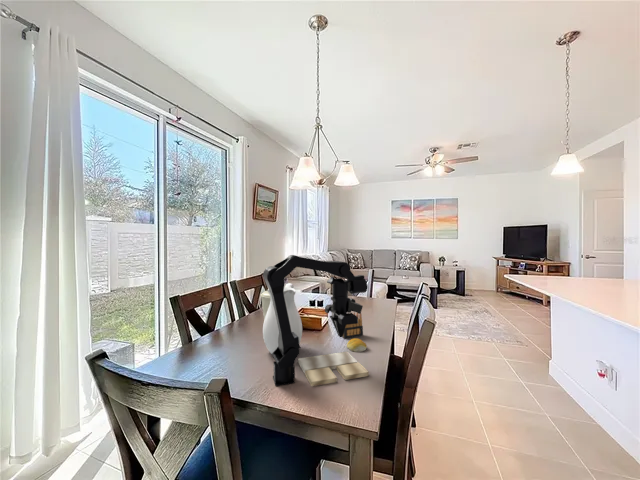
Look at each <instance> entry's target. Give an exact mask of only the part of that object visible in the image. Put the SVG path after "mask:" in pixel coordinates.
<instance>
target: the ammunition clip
mask: <svg viewBox="0 0 640 480" xmlns="http://www.w3.org/2000/svg"><path fill="white" fill-rule="evenodd" d="M353 314H354V315H356V316H357V317H358V323H357V324H349V325H346V327H345V330H344V334H343V337H341V338H342V339H343V340H346V339H354V338H358V337H362V336H364V329H363V328H364V326H363V319H362V318H363V317H362V313H361V314H358V313H357V312H354V311H353Z"/></svg>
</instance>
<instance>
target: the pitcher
mask: <svg viewBox="0 0 640 480" xmlns="http://www.w3.org/2000/svg"><path fill="white" fill-rule="evenodd" d="M266 291H268V293H269V294H270V305H269V308H268V311H267V314H266V316H265V319H264V318H263V320H264V321H263V325H262V337H263V341H264V345H265V347H266V349H267V350H268V352H269V354H271V355H272V353H273V352H274V351H275V350H276V349H277V347H278V337H279V329H278V325H277V320H276V315H275V310H274V306H273V301H272V296H271V293H270V291H269V289H267V290H266ZM295 295H296V289H295V287H294V284H293V283H286V285H284V298H285V303H286V308H287V313H288V317H289V322H290V327H291V332H294V333H295V334H296V335H297V336H298V337H299V345H300V343H301V341H302V336H303V324H302V323H303V322H302V318H301V315H300V313H299V310H298V308H297V305H296V302H295Z"/></svg>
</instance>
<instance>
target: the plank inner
mask: <svg viewBox="0 0 640 480" xmlns="http://www.w3.org/2000/svg"><path fill="white" fill-rule="evenodd" d="M304 375H305V378H306V379H307V381H308V383H309V385H310V387H316V386H323V385H327V384H333V383H338V378H337V376H336V375H335V373H334V372H333V370H331V369H330V368H329V367H327V368H321V369H315V370H308V371H305V374H304Z"/></svg>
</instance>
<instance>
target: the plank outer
mask: <svg viewBox="0 0 640 480" xmlns="http://www.w3.org/2000/svg"><path fill="white" fill-rule="evenodd" d="M336 371H337V372H338V373H339V374H340V376H341V377H342V378H343V380H344V381H347V380H348V381H349V380H352V379H353V380H354V379H358V378H365V377H366V378H367V377H369V376H370V373H369V371H368V369H366V368H365V367H364V366H363V365H362V364H361V363H360V362H358V363H352V364H346V365H340V366H337V369H336Z"/></svg>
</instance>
